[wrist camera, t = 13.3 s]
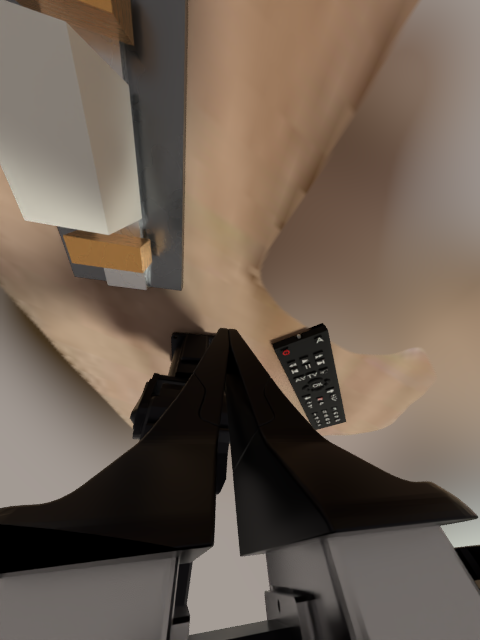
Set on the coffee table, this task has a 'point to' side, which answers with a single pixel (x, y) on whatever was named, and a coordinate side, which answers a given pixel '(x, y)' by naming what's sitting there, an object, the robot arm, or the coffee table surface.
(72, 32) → the plain light gray block
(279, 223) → the coffee table surface
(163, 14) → the rail mount
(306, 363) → the remote control
